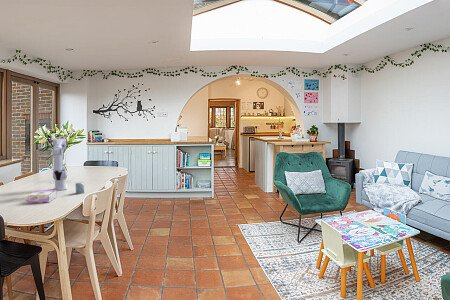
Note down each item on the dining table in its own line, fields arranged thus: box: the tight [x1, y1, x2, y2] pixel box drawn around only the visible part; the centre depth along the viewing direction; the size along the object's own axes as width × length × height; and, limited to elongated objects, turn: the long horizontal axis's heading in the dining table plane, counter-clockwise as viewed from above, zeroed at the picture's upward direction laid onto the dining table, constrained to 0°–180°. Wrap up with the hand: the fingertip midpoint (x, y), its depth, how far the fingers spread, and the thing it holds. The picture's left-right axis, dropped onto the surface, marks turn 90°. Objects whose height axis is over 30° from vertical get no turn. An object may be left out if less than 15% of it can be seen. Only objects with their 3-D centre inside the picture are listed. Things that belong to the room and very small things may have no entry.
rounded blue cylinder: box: [75, 182, 85, 195], centre depth 245 cm, size 6×6×8 cm
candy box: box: [26, 189, 58, 204], centre depth 221 cm, size 14×6×16 cm
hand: (58, 180), depth 243 cm, fingers closed
